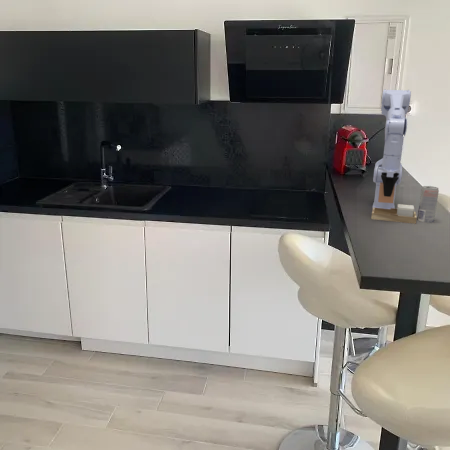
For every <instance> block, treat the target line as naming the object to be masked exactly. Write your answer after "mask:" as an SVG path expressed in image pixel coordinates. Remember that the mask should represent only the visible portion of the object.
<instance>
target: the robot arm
mask: <svg viewBox="0 0 450 450" xmlns="http://www.w3.org/2000/svg"><path fill="white" fill-rule="evenodd" d="M381 94H382V96H381V104H380V106H381V108H380V111H381V112H380V113H381V115H383V116H385V119H386V121H385V126H384V147H383V156H382V158H381V159H379V160H378V161H376V163H374V165H375V166H374V169H373V178H372V179H373V180H372V181H373V183H375V192H374V200H373V201H374V202H373V203H372V209H373V208H384V209H391V208H395V209H396V207H395V206H396V205H395V199H396V190H397V186H399V185H400V184H401V182H402V176H403V165H402V163H401V162H402V156H403V155H402V154H403V146H404V138H405V137H406V133H407V128H408V118H407V117H406V115H407V113H408V111H409V106H410V104H411V96H412V91H411V90H410V89H407V90H406V89H404V90H403V89H383V90H382V93H381ZM380 182H381V183H383V188H384V196H387V197H391V195H392V192H393V188H394V185H395V190H394V199H393V203H384V202H378V199H379V189H380Z"/></svg>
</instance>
